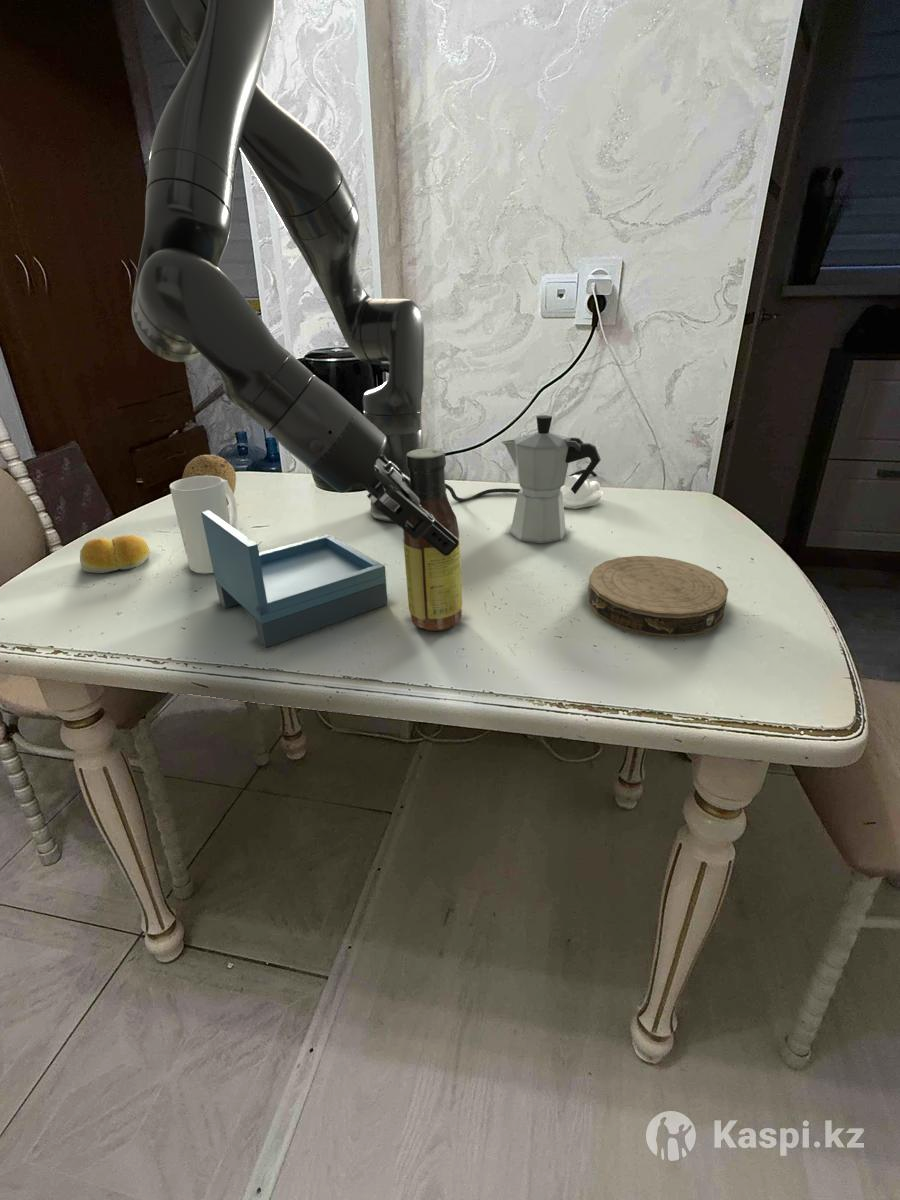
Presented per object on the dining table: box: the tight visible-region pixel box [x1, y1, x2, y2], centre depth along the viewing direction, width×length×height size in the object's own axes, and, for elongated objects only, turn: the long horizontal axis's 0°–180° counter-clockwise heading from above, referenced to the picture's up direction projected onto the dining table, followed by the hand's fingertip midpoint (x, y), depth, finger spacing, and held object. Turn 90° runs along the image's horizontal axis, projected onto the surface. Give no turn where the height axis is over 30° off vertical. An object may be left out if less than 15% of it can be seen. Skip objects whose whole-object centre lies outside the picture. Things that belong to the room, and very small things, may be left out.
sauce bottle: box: [402, 447, 463, 632], centre depth 69 cm, size 7×6×20 cm
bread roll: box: [79, 534, 151, 574], centre depth 89 cm, size 8×9×4 cm
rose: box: [560, 474, 603, 510], centre depth 111 cm, size 10×4×10 cm
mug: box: [168, 476, 238, 575], centre depth 87 cm, size 10×7×12 cm, turn 159°
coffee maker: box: [500, 414, 602, 544], centre depth 93 cm, size 15×9×18 cm, turn 68°
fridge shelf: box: [201, 510, 389, 648], centre depth 75 cm, size 16×14×12 cm
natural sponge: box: [181, 454, 237, 507], centre depth 107 cm, size 9×9×10 cm
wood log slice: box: [587, 555, 729, 638], centre depth 75 cm, size 16×16×3 cm
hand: (447, 536), depth 69 cm, fingers closed on sauce bottle, 6 cm apart
